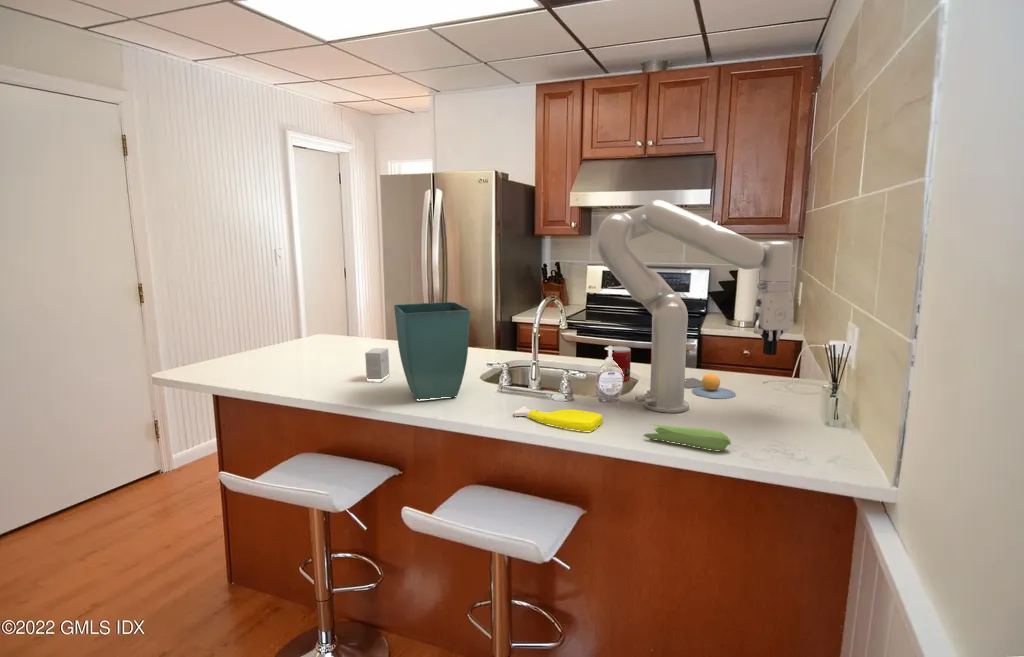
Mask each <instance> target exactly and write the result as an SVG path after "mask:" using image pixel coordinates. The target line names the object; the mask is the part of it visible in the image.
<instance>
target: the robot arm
mask: <svg viewBox="0 0 1024 657" xmlns="http://www.w3.org/2000/svg"><path fill="white" fill-rule="evenodd" d="M599 226H600V227H599V229H598V231H597V235H596V236H597V237H596V248H597V252H598V255H599V257H600V260H601V261H602V263H603V264H604V265H605V267H606V268H607V269H608V271H610V272H611V273H612V275H613V276H614V277H615V278H616V280H617V281H618V282H619V283H620V284H621V286H623V288H624V289H625V291H626V292H628V294H629V295H630V297H631V298H632V299H633V300H634V301H636V302H638V303H641V304H642V305H643V307H644V308H645V309H646V310H647V311H648V312H649V313H650V314H651V356H650V357H651V361H650V383H649V384H650V389H649V390H646V393H644V394H639V395H635V396H634V400H635V402H636V403H641V402H644V407H646V408H647V409H649V410H651V411H655V412H660V413H669V414H670V413H671V414H674V413H675V414H677V413H682V412H683V413H684V412H686V411H688V410H689V409H690V403H689V402H688V401H686V400H685V388H684V383H685V379H686V377H685V376H686V361H687V359H686V358H687V357H686V354H687V336H688V325H689V322H688V321H689V314H688V308H687V306H686V304H685V302H684V300H682V298H681V297H680V296H679V295H678V294H677V293H676V292H675V290H673V289H672V287H671V286H670V285H669V284H668V283H667V281H666V280H664V278H663V277H662V276H661V275H660V274H659V273H658V272H657V271H656V270H653V269H651V268H648V266H647V265H646V264H645V263H644V262H643V261H642V260H641V258H639V256H638V255H637V254H636V253H635V252H634V251H633V250H632V249H631V247H630V246H629V243H628V242H629V241H632V240H634V239H635V240H636V239H638V238H641V237H644V236H647V235H650V234H653V233H655V232H656V233H659V234H660V235H662V236H665V237H668V238H669V239H672V240H674V241H676V242H678V243H681V244H683V245H686V246H687V247H689V248H691V249H694V250H697V251H700V252H704V253H706V254H709V255H711V256H714V257H715V258H718V259H720V260H722V261H724V262H727V263H729V264H731V265H733V266H736V267H738V268H740V269H742V270H754V269H756V268H757V267H760V269H759V270H760V272H759V281H758V282H759V283H758V284H757V285H756V287H757V289H758V291H757V294H756V296H755V301H754V306H753V314H752V327H753V328H754V329H753V334H755V335H759V336H760V337H761V339H762V340H763V348H762V353H763V354H764V355H768V356H777V349H778V341H780V338H781V336H782V335H783V334H785V333H788V332H789V330H790V329H792V328H793V326H794V312H795V311H794V298H793V293H792V292H791V291H790V290H791V280H792V279H791V277H792V265H793V252H794V250H793V249H794V246H793V243H792V242H791V241H788V240H787V241H786V240H769V241H768V240H767V241H756V240H753V239H750V238H748V237H745V236H743V235H742V234H739V233H736V232H734V231H733V230H730V229H727V228H725V227H723V226H721V225H718V224H716V223H715V222H713V221H712V220H710V219H707V218H705V217H703V216H701V215H698V214H696V213H693V212H692V211H690V210H686V209H684V208H682V207H679V206H678V205H675V204H673V203H671V202H668V201H666V200H663V199H658V198H657V199H652V200H650V201H649V202H647V203H646V204H645V205H642V206H639V207H636V208H634V209H630V210H627V211H624V212H620V213H619V212H615V213H610V214H609V215H607V216H606V217H605V218H604V219H603V220H602V222H601V224H600V225H599Z"/></svg>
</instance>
